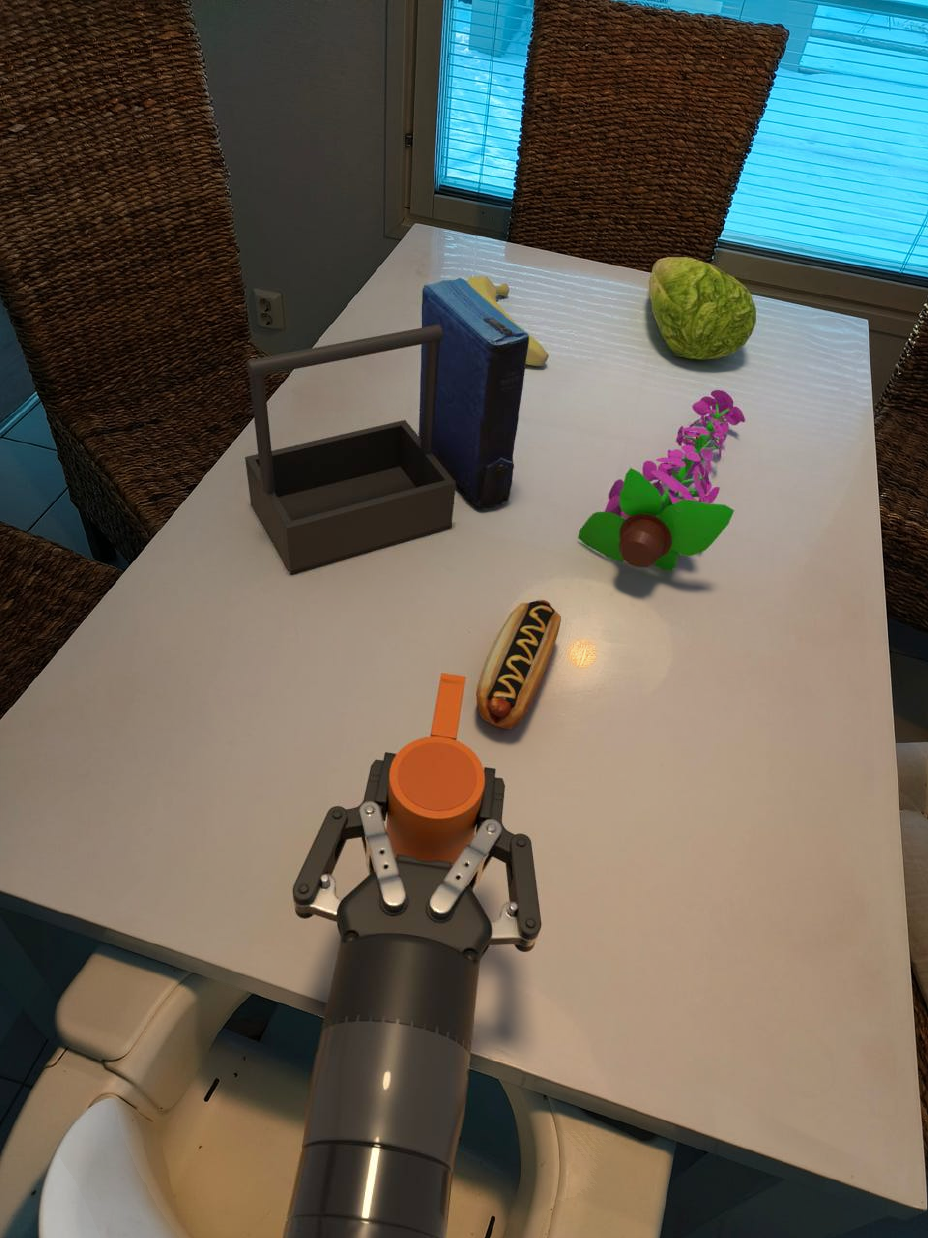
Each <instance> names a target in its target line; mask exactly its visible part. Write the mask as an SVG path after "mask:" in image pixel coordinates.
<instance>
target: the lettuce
mask: <svg viewBox="0 0 928 1238" xmlns="http://www.w3.org/2000/svg"><path fill="white" fill-rule="evenodd" d="M648 295H649V297H650V302H651V311H652V314H653V317H654V319H655V321H656V324H657V325H658V328H659V331H660V334H661V337H662V338H663V340H664V342H665V343H666V345H667V346H668V348H669V349H670V350H671V352H672V354H673V355H674V357H680V358H684V359H685V358H686V359H692V360H693V359H694V360H703V361H704V360H714V359H715V360H716V359H720V358H723V357H726V356H730V355H733V354H734V353H736V352H737V351H738V350H740V349H741V348H742V347H744V346H745V345H746V343H747V342H748V341H749V339H750V337H751V336H752V334H753V332H754V328H755V326H756V322H757V308H756V305H755V302H754V299H753V296H752V293H751V292H750V291H749V289H748V288H747V287H746V286H745V285H744V284H743V283H741V282H740V281H739V280H738V279H736V278H735V277H734V276H732V275H730V274H728V273H726V272H725V271H724V270H722V269H720V268H719V267H718V266H716V265H715V264H711V263H708V262H704V261H701V260H698V259H696V258H694V257H693V258H692V257H688V256H675V257H674V256H669V257H663V258H660V259H658V260H657V261H656V262H655V263H654V264H653V266H652V270H651V273H650V276H649V280H648Z"/></svg>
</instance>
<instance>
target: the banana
mask: <svg viewBox="0 0 928 1238" xmlns="http://www.w3.org/2000/svg"><path fill="white" fill-rule="evenodd" d="M465 281H466V282H467V283H468V284H469V285H470V286H471V287H472V288H473V289H474V290H476V291H477V292H478V293H479V294H480V295H481V296H482V297H483V298H485V299H486V300H487V301H488V302H489V303H491V304H492V305H493V306H494V307H495V308H496V309H498V310H499V311H500V312H501V313H502V314H503V315H504V316H505V317H507V318H508V319H509V320H510V321H512V322H513V323H514V324H516V325H517V326H518V327H520V328H521V329H523V328H522V327H521V326H520V325H519V324H517V322H515V321H514V319H513V318H511V317H510V315H508V313H506V311H504V309H503V308H502V307H501V306H500V305H499V304H498V301H497V300H496V299H497V296H501V297H507V296H508V295H509V293H510V287H509V285H508V284H507V283H503V284H501V285H497V286H496V285H494V283H493V281H492V280H491V278H489V277H488V276H486V275H485V276H484V275H482V276H471V277H468V278H467V279H465ZM523 330H524V331H525V332H527V331H526V330H525V329H523ZM527 334H528V335H529V345H528V350H527V356H526V363H525V365H528V366H535V367H537V366H538V367H540V366H541V367H543V366H545V364H546V363H547V361H548V359H549V356H550V355H549V353H548V352H547V351H546V349H545V348H544V347H543V346H542V344H541V343H539V342H538V341H537V340H536V339H535V338H534V337H533V336H532V335H530V333H528V332H527Z"/></svg>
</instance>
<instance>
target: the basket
mask: <svg viewBox="0 0 928 1238" xmlns="http://www.w3.org/2000/svg"><path fill="white" fill-rule="evenodd" d="M442 338H443V332H442V329H441V327H440V325H434V326H428V327H423V328H422V327H419V328H418V327H417V328H412V329H407V330H403V331H397V332H392V333H386V334H381V335H376V336H375V335H374V336H371V337H365V338H360V339H354V340H349V341H343V342H339V343H333V344H328V345H323V346H317V347H311V348H307V349H301V350H296V351H292V352H291V351H290V352H285V353H280V354H275V355H269V356H264V357H259V358H253V359H248V360H246V362H245V364H246V369H247V374H248V375H249V383H250V384H249V385H250V392H251V401H252V411H253V419H254V429H255V437H256V445H257V453H256V454H252V455H248V456H245V457H244V461H245V469H246V477H247V484H248V491H249V492H248V493H249V500H250V505H251V506H252V509H253V510H254V512H255V514H256V516H257V518H258V519H259V521H260V523H261V525H262V526H263V528H264V530H265V531H266V533H267V535H268V538H269V540H270V541H271V543H272V544H273V546H274V548H275V550H276V551H277V554H278V555H279V557H280V559H281V561H282V562H283V565H285V568H286V570H287V571H288V573H289V574H290V576H293V575H295V574H296V575H297V574H299V573H302V572H306V571H309V570H313V569H316V568H320V567H324V566H327V565H329V564H334V563H336V562H341V561H343V560H347V559H350V558H355V557H358V556H362V555H364V554H367V553H370V552H374V551H378V550H382V549H385V548H388V547H391V546H395V545H399V544H402V543H405V542H409V541H412V540H415V539H418V538H423V537H425V536H430V535H432V534H437V533H439V532H443V531H446V530H449V529H452V527H453V515H454V505H455V495H456V485H457V483H456V482H455V481H454V480H453V479H452V477H451V476H450V475H449V473H448V472H447V471H446V470H445V468H444V467H443V466H442V465H441V463H440V462H439V461H438V460H437V459H436V457H435V456H434V455H433V454H432V445H433V431H434V417H435V402H436V388H437V373H438V359H439V345H440V341H441V340H442ZM426 343H427V344H426ZM421 344H426V362H425V379H424V397H423V414H422V432H421V439H420V438H419V434H418V433H417V432H416V431H415V430H414V429H413V427H412V426H411V425H410V424H409V423H408V421H407V420H406V419H403V420H398V421H394V422H389V423H385V424H381V425H376V426H373V427H367V428H363V429H359V430H355V431H351V432H347V433H343V434H338V435H334V436H329V437H325V438H321V439H317V440H312V441H308V442H304V443H300V444H295V445H290V446H286V447H282V448H278V449H274V450H273V449H272V443H271V432H270V422H269V421H270V420H269V412H268V401H267V393H266V392H267V391H266V382H265V376H266V375H272V374H277V373H282V372H287V371H293V370H298V369H302V368H308V367H313V366H314V367H315V366H319V365H324V364H329V363H333V362H338V361H339V362H340V361H343V360H349V359H353V358H359V357H364V356H370V355H373V354H374V355H375V354H380V353H385V352H389V351H390V352H391V351H395V350H400V349H404V348H409V347H415V346H421Z"/></svg>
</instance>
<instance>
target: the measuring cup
mask: <svg viewBox="0 0 928 1238" xmlns="http://www.w3.org/2000/svg"><path fill="white" fill-rule="evenodd" d="M439 677H440V678H439V684H438V690H437V695H436V699H435V707H434V713H433V719H432V723H431V724H432V725H431V731H430V735H429V736H424V737H421V738H418V739H415V740H412V741H411V742H409V743H407V744H406V745H404V746H403V747H402V748H401V749H400V750H399V751H398V752H397V753H396V756H395V758H394V759H393V761H392V764H391V767H390V771H389V786H388V807H387V815H386V825H385V829H386V832H387V833H388V835H389V838H390V842H391V846H392V849H393V853H394V856H395V858H397V854H400V855H406V856H412V857H414V858H416V859H419V860H421V861H436V860H440V861H447V862H452V863H451V866H453V865H454V863H455V862H456V860H457V859H458V857H459V856H460V854H461V852H462V851H463V849H464V848H465V847H466V845H468V844H469V843H470V842H471V840H472V839H473V837H474V835H475V834H476V825H477V820H478V815H479V810H480V805H481V800H482V796H483V791H484V786H485V773H484V766H483V764H482V761H481V760H480V759H479V757H478V756H477V754H476V753H475V752H474V751H473V750H472V749H471V748H470V747H469V746H467V745H466V744H464V743H462V742H460V741H459V740H457V739H458V733H459V726H460V718H461V713H462V705H463V699H464V698H463V697H464V692H465V686H466V685H465V684H466V678H467V677H466V676H464V675H459V674H451V673H445V672H441V673H440V676H439Z"/></svg>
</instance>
